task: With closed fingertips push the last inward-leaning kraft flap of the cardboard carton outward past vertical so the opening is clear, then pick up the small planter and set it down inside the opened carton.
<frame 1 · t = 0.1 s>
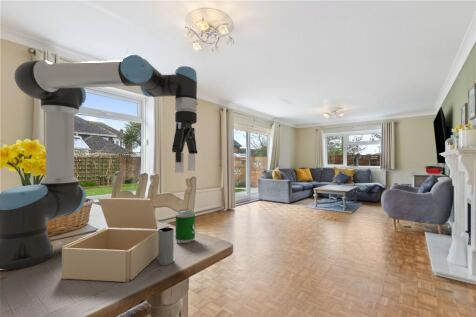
hand: (185, 171, 84), 28 cm above the table, fingers open, 13 cm apart
soda can: (185, 241, 93), on the table
flap: (128, 213, 79), point 14 cm above the table, hinge at -25.0°
carton: (116, 264, 72), on the table
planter: (166, 262, 74), on the table
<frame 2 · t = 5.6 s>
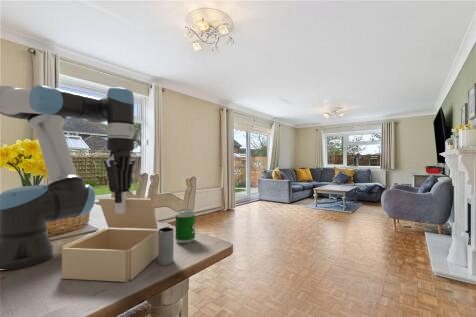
hand: (120, 212, 74), 15 cm above the table, fingers closed
flap: (128, 213, 79), point 14 cm above the table, hinge at -24.9°, touching gripper
everything else where it was.
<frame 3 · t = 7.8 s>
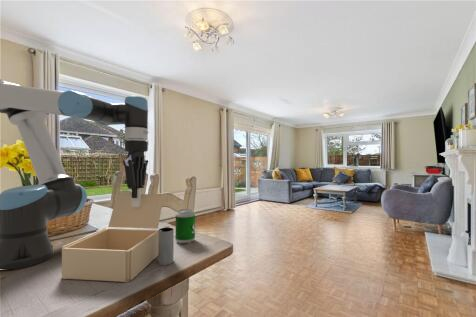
hand: (136, 206, 84), 15 cm above the table, fingers closed
flap: (136, 210, 84), point 14 cm above the table, hinge at 25.5°, touching gripper
everything else where it was.
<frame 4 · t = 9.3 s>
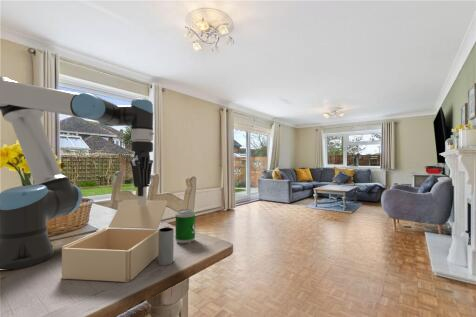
hand: (142, 204, 88), 15 cm above the table, fingers closed
flap: (139, 213, 86), point 13 cm above the table, hinge at 48.4°, touching gripper
everything else where it was.
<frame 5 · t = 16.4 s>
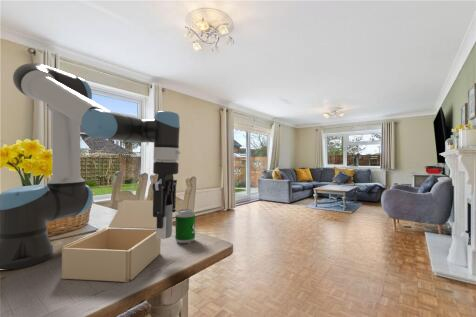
hand: (164, 235, 74), 8 cm above the table, fingers closed on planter, 4 cm apart
flap: (139, 213, 86), point 12 cm above the table, hinge at 49.8°
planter: (163, 237, 74), point 8 cm above the table, touching gripper
everything else where it was.
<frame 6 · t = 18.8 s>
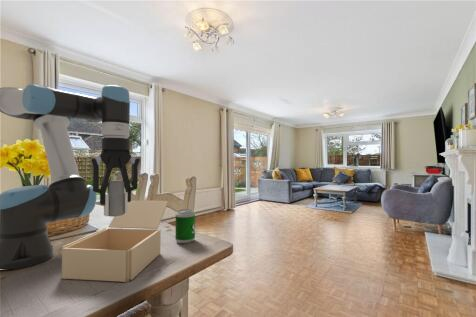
hand: (115, 214, 72), 16 cm above the table, fingers closed on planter, 4 cm apart
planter: (115, 215, 72), point 15 cm above the table, touching gripper
everything else where it was.
when the fingers open (1 cm above the table, at t = 21.4 s): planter stays where it is, resting on carton.
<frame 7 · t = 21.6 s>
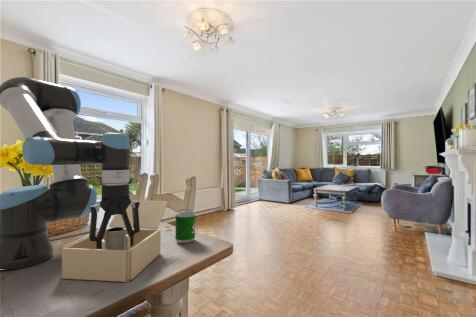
hand: (115, 259, 72), 2 cm above the table, fingers open, 6 cm apart
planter: (115, 263, 72), resting on carton
everything else where it was.
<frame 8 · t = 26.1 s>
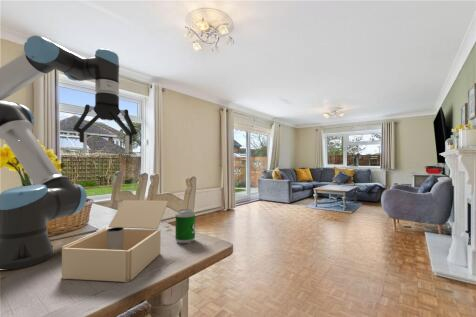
hand: (107, 152, 85), 35 cm above the table, fingers open, 13 cm apart
nothing on the table moved.
at the end: flap at +50° (first picture: -25°); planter inside the target area on the carton (0.5 cm from its centre), point 0.4 cm above the carton's base; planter tilted 0° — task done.
